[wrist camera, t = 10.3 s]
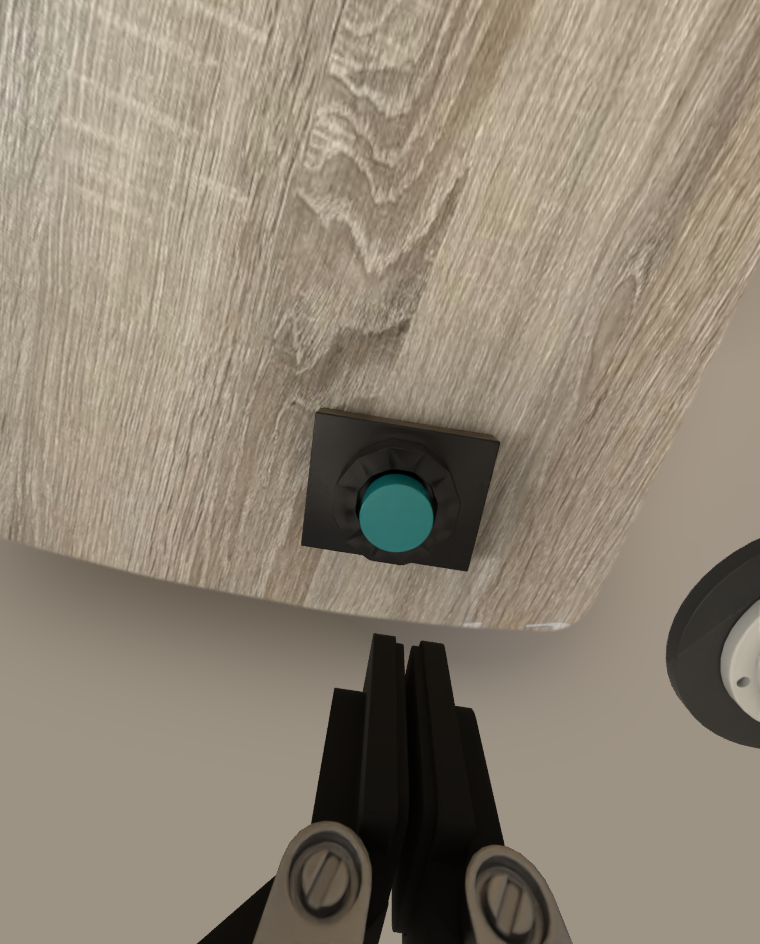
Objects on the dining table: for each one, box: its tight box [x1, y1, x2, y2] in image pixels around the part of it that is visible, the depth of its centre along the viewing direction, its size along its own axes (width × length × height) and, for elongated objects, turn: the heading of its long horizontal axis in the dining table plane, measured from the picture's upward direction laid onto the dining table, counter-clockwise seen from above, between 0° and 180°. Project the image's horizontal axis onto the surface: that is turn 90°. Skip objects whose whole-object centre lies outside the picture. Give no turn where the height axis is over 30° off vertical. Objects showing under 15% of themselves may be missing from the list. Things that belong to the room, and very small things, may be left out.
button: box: [360, 474, 433, 552], centre depth 21 cm, size 4×4×2 cm
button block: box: [301, 408, 500, 571], centre depth 23 cm, size 10×8×4 cm
